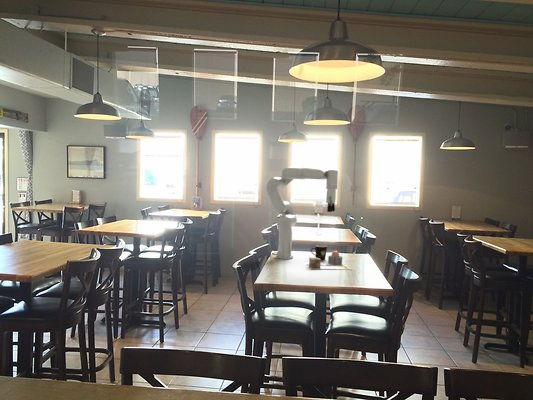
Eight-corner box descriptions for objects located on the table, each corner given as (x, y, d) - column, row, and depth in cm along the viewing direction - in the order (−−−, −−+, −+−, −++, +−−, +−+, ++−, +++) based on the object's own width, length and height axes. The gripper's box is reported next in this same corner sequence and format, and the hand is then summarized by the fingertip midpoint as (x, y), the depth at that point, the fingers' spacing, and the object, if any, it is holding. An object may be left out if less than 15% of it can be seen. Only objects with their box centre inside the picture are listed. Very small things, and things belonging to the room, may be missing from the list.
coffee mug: (326, 259, 323) (326, 245, 323) (326, 261, 315) (327, 247, 314) (310, 258, 324) (311, 244, 324) (310, 260, 316) (311, 246, 315)
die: (311, 268, 286) (312, 258, 286) (309, 266, 293) (309, 257, 292) (320, 268, 287) (320, 259, 287) (317, 266, 294) (318, 257, 293)
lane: (311, 269, 282) (311, 269, 282) (305, 264, 297) (305, 264, 297) (351, 269, 287) (351, 269, 287) (343, 265, 301) (343, 264, 301)
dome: (332, 259, 304) (333, 251, 304) (330, 258, 309) (331, 250, 309) (339, 259, 305) (340, 251, 305) (337, 258, 310) (337, 250, 310)
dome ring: (330, 264, 302) (331, 257, 302) (326, 262, 311) (327, 255, 311) (343, 264, 303) (343, 257, 303) (339, 262, 312) (339, 255, 312)
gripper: (328, 186, 315) (328, 210, 315) (323, 186, 298) (323, 211, 299) (339, 187, 312) (338, 211, 313) (334, 187, 296) (334, 212, 297)
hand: (331, 211), depth 306 cm, fingers open, 9 cm apart
